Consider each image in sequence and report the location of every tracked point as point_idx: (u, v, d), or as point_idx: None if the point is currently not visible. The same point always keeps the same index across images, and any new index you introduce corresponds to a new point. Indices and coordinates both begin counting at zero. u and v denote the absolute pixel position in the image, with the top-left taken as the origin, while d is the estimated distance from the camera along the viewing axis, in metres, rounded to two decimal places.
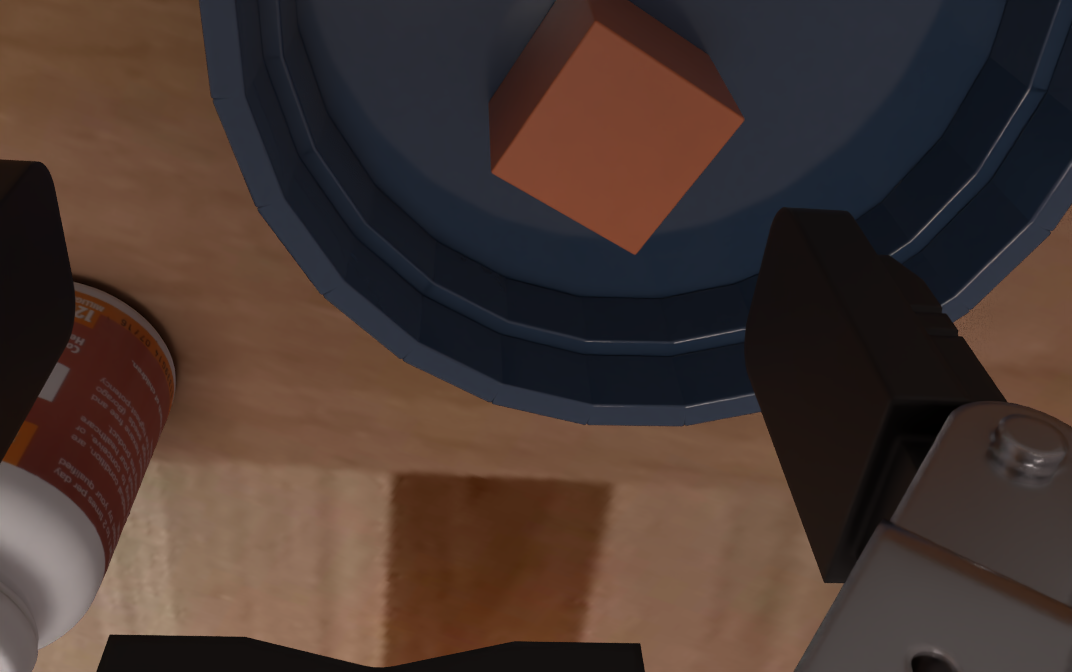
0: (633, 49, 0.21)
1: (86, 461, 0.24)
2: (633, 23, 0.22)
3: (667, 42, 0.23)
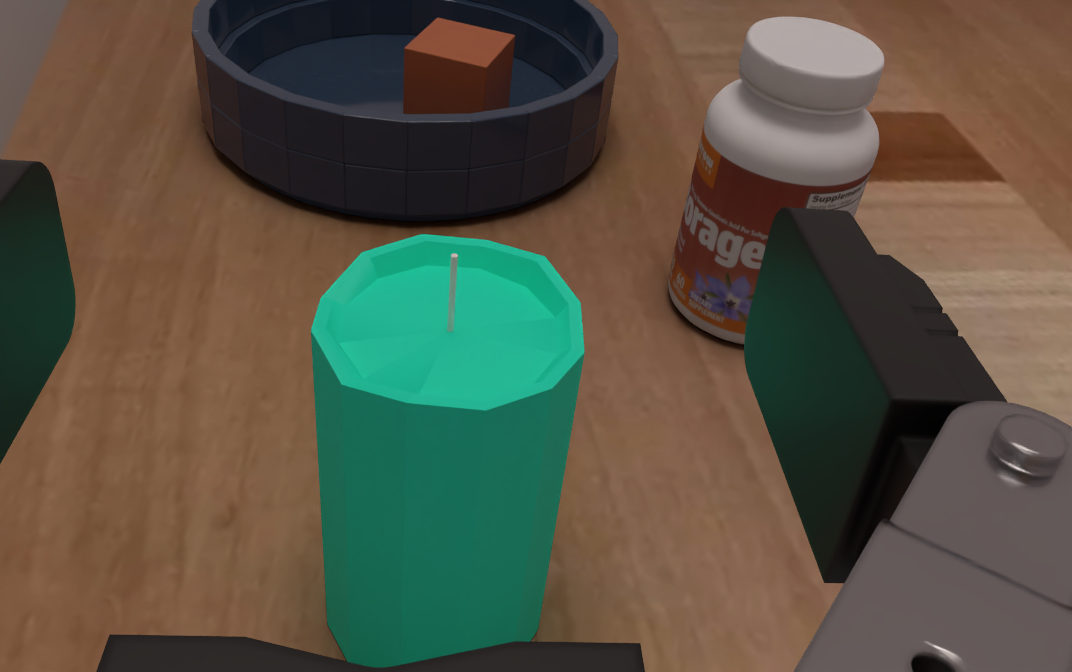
0: (414, 39, 0.47)
1: None
2: None
3: None
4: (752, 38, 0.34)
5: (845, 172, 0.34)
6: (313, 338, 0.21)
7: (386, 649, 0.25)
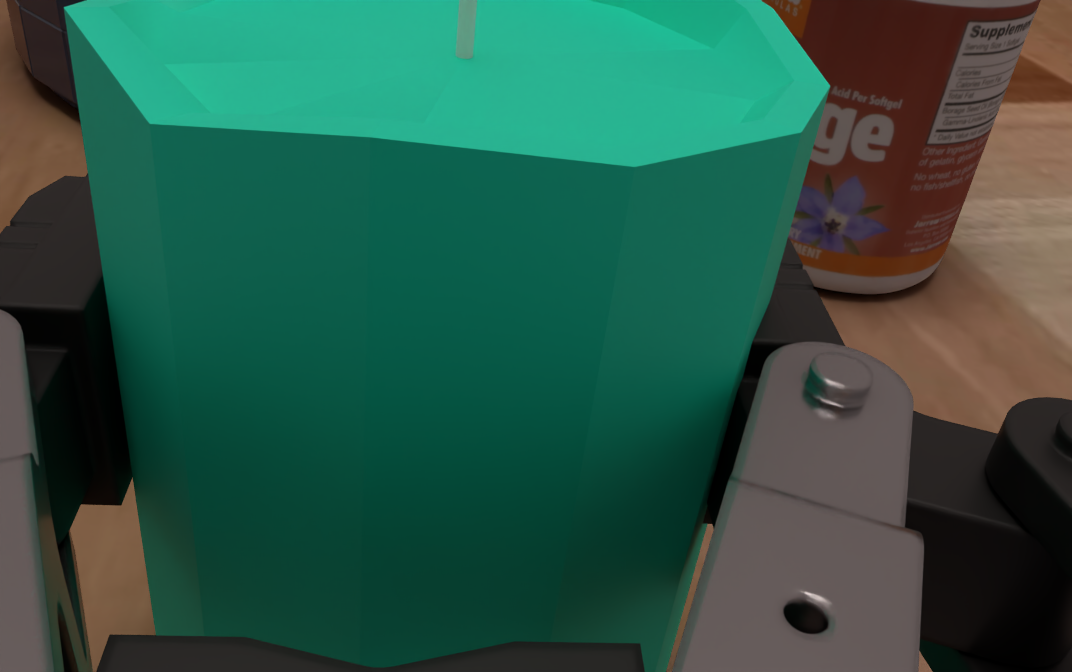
0: None
1: None
2: None
3: None
4: None
5: None
6: (71, 32, 0.07)
7: None
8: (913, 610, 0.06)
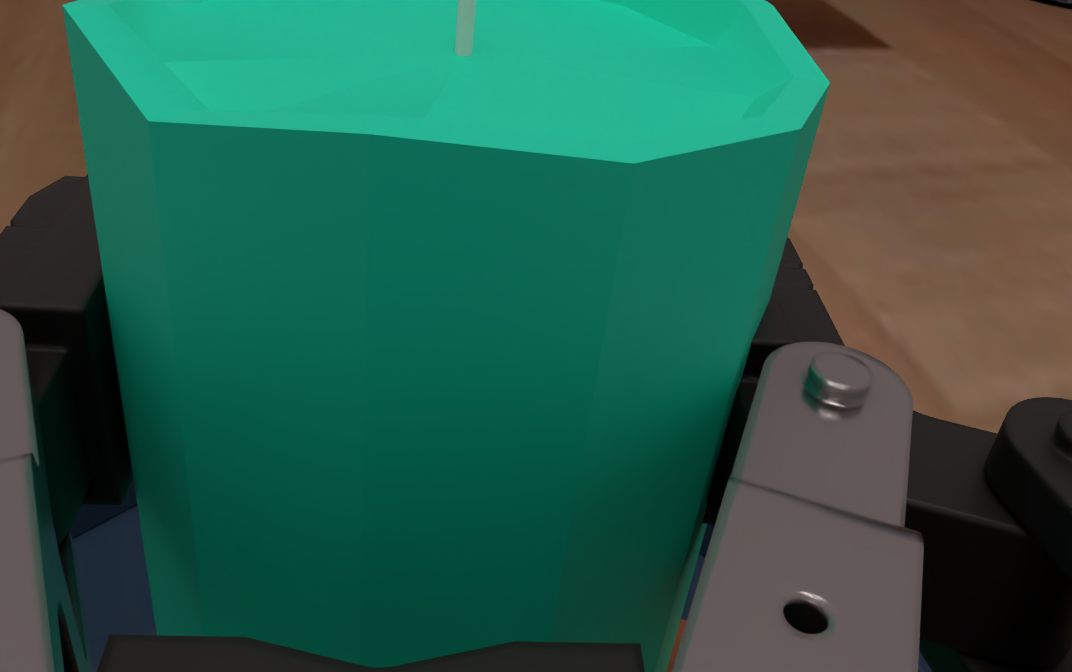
0: None
1: None
2: None
3: None
4: None
5: None
6: (70, 29, 0.07)
7: None
8: (913, 609, 0.06)
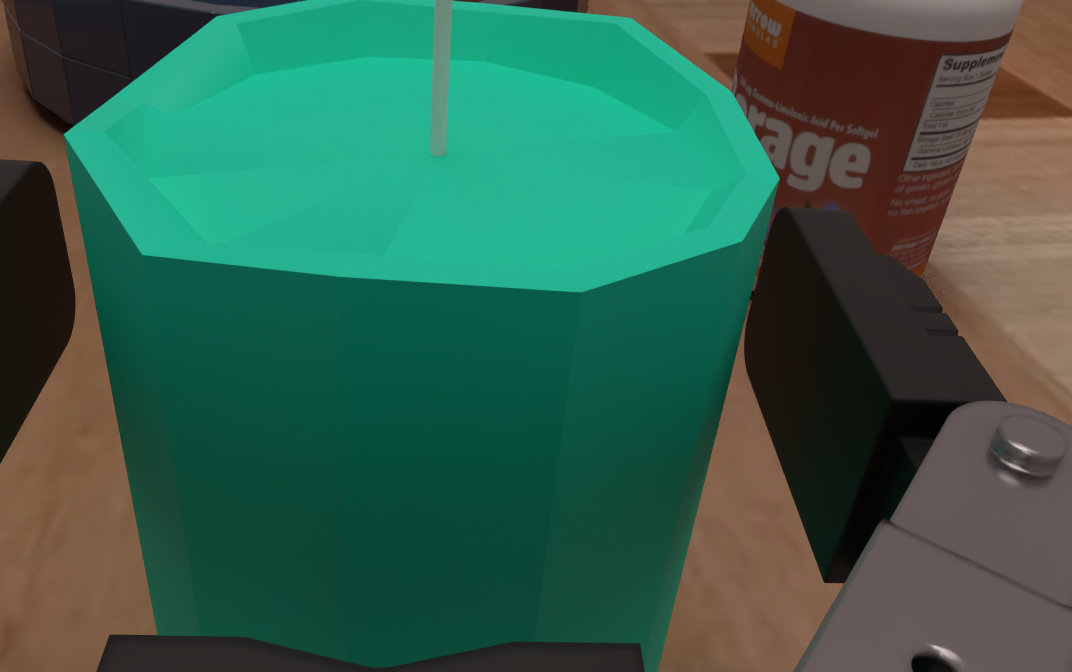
0: None
1: None
2: None
3: None
4: None
5: (992, 20, 0.22)
6: (71, 157, 0.08)
7: None
8: None
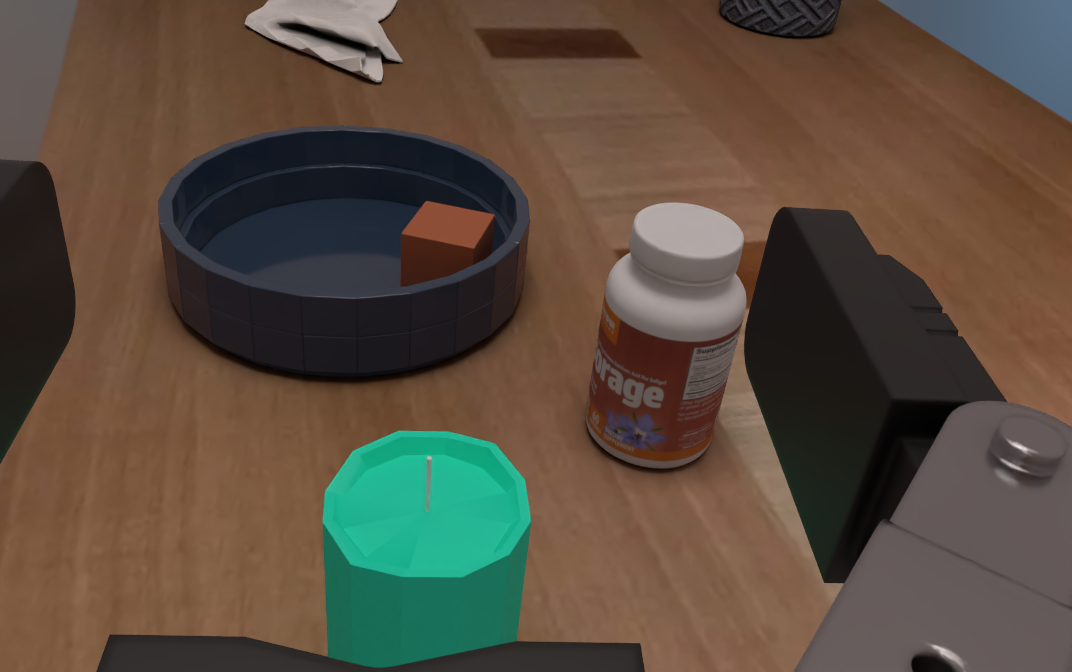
0: (409, 224, 0.54)
1: None
2: None
3: None
4: (638, 226, 0.42)
5: (720, 329, 0.42)
6: (324, 528, 0.28)
7: None
8: None
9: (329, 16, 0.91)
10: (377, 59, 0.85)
